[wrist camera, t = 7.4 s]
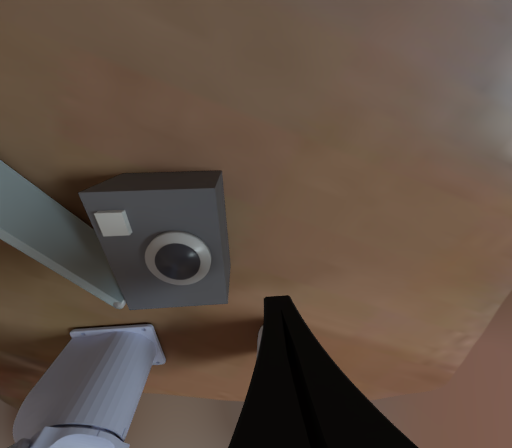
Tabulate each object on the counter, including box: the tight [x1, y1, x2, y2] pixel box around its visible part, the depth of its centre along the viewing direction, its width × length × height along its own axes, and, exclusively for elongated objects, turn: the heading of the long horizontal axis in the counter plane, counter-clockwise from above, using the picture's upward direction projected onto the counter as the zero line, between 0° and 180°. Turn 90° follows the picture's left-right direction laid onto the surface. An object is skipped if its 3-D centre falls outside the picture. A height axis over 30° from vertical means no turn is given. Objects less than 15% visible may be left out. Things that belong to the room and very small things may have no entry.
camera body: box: [78, 171, 230, 310], centre depth 16 cm, size 8×10×6 cm
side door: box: [0, 160, 126, 309], centre depth 15 cm, size 1×15×4 cm, turn 36°
